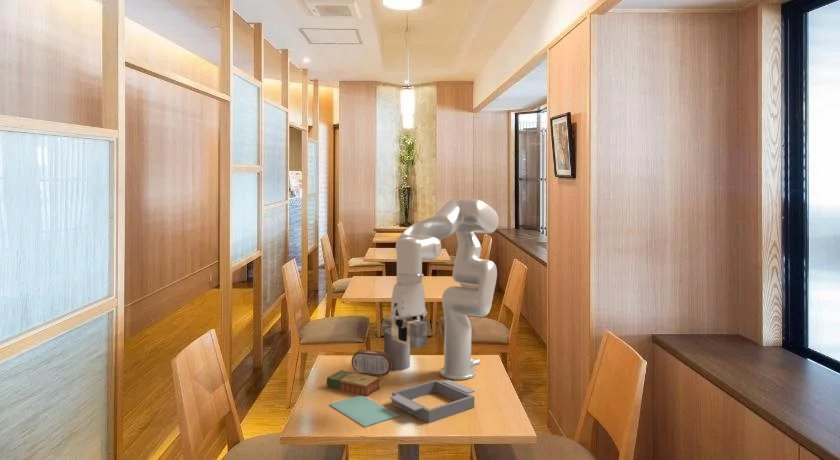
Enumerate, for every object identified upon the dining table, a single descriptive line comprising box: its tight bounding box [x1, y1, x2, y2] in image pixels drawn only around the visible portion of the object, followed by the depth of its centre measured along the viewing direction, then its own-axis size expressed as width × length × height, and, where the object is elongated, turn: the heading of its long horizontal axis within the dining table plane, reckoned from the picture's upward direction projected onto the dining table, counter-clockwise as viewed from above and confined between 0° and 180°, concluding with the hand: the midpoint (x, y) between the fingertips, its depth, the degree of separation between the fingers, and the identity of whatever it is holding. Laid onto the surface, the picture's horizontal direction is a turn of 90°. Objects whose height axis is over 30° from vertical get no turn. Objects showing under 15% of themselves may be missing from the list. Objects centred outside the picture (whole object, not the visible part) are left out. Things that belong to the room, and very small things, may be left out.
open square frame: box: [389, 379, 475, 424], centre depth 176 cm, size 24×18×4 cm
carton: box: [326, 369, 381, 398], centre depth 190 cm, size 8×16×4 cm, turn 62°
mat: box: [328, 395, 400, 428], centre depth 172 cm, size 12×20×1 cm, turn 39°
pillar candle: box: [383, 326, 411, 371], centre depth 211 cm, size 10×10×15 cm
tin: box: [350, 349, 393, 377], centre depth 203 cm, size 15×3×8 cm, turn 76°
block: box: [391, 316, 428, 349], centre depth 172 cm, size 4×12×7 cm, turn 40°
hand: (408, 338), depth 172 cm, fingers closed on block, 4 cm apart
